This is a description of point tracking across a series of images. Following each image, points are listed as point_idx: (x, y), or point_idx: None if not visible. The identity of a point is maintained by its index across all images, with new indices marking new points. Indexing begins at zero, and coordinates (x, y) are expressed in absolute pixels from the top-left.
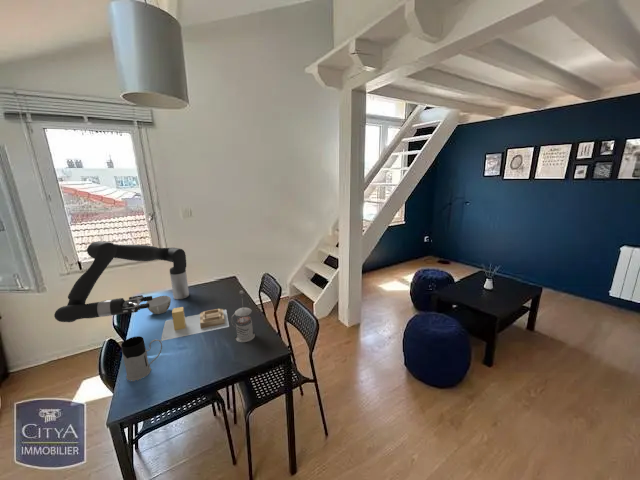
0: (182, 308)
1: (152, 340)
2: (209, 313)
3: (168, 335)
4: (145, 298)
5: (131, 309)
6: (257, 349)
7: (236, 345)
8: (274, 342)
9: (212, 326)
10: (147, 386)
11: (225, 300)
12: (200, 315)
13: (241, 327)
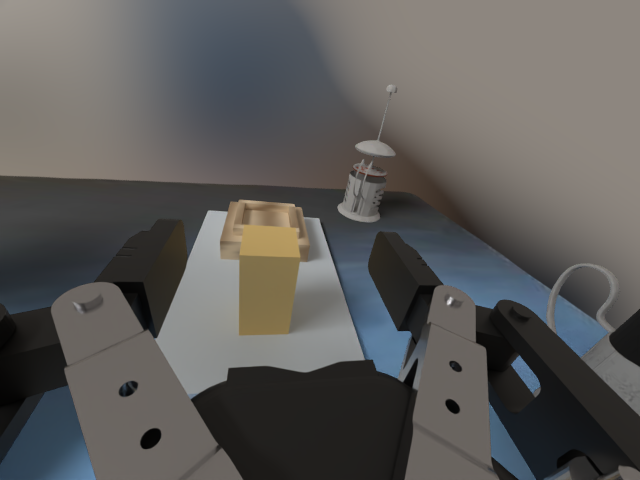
0: (263, 227)
1: (610, 276)
2: (245, 224)
3: (328, 353)
4: (159, 280)
5: (545, 401)
6: (403, 208)
7: (391, 224)
8: (383, 193)
9: None
10: None
11: (117, 208)
12: None
13: (385, 184)
